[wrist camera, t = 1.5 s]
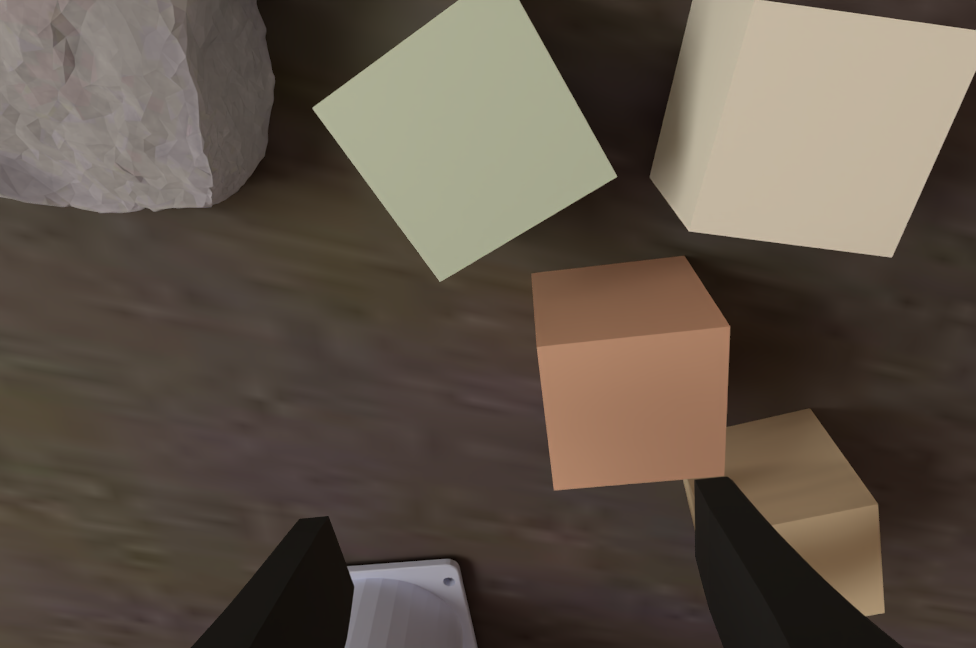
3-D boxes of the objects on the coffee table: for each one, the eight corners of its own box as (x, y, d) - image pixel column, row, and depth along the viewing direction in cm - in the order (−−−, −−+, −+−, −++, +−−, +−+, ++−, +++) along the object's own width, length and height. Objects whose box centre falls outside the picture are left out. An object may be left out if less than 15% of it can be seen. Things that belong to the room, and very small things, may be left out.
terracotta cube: (683, 382, 23) (724, 475, 19) (545, 396, 24) (554, 490, 19) (683, 254, 21) (730, 326, 17) (531, 272, 21) (536, 347, 17)
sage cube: (593, 132, 19) (617, 176, 15) (455, 218, 21) (440, 281, 16) (503, -27, 17) (501, -32, 13) (359, 78, 19) (311, 107, 14)
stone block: (303, 173, 22) (258, -204, 16) (252, 248, 18) (165, -205, 12) (-37, 137, 22) (-217, -249, 16) (-156, 205, 18) (-454, -263, 12)
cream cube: (807, 197, 20) (891, 257, 16) (648, 176, 20) (688, 230, 15) (871, 21, 18) (993, 32, 13) (692, -4, 17) (754, -1, 13)
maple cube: (820, 505, 26) (884, 612, 21) (695, 530, 27) (731, 639, 22) (808, 406, 24) (878, 503, 19) (672, 438, 24) (709, 538, 20)
